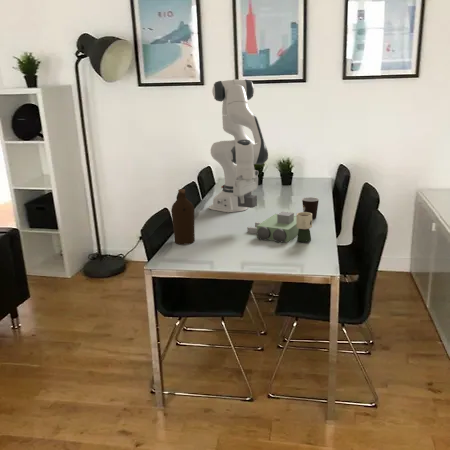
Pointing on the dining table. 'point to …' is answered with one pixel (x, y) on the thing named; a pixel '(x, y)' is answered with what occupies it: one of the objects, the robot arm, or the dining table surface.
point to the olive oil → (183, 219)
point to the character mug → (304, 226)
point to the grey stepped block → (248, 201)
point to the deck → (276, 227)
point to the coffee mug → (310, 205)
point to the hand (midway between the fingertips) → (245, 201)
